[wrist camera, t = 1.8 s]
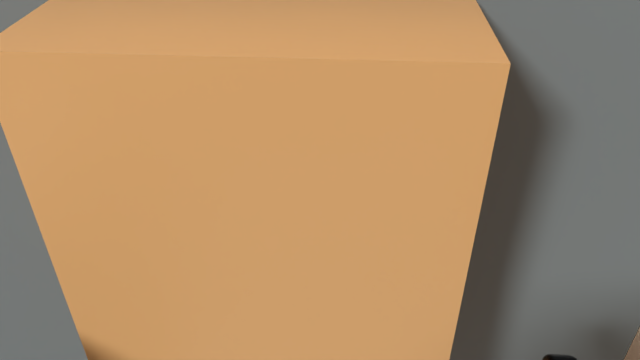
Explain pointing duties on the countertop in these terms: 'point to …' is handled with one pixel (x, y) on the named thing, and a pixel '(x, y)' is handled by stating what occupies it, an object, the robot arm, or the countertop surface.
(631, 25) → the mat
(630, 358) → the countertop surface
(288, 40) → the orange flat block
